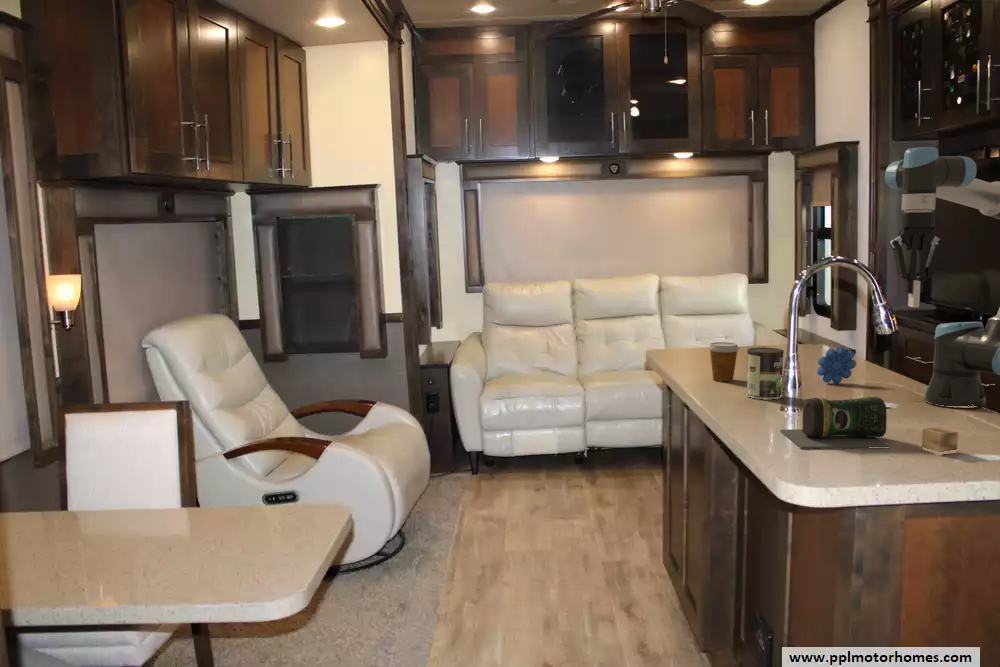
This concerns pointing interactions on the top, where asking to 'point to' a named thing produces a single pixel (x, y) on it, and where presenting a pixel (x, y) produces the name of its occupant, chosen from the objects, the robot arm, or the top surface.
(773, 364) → the coffee can
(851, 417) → the coffee jar
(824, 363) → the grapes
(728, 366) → the disposable coffee cup
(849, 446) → the mat
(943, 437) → the oak block
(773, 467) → the top surface
